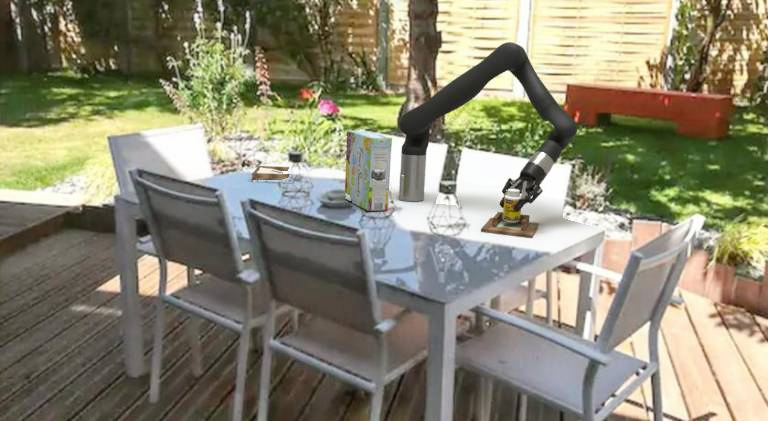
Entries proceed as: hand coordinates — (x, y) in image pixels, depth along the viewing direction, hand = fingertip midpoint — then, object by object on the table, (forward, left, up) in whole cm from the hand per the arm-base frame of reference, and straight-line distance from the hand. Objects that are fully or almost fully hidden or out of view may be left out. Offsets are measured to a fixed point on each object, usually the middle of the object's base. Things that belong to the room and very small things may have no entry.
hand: (508, 208), depth 228 cm
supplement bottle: (+1, +1, -5) cm, 5 cm away
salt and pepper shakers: (-86, +69, -8) cm, 110 cm away
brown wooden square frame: (+1, +1, -7) cm, 7 cm away
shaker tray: (-84, +70, -7) cm, 109 cm away
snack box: (-46, +28, -7) cm, 54 cm away
